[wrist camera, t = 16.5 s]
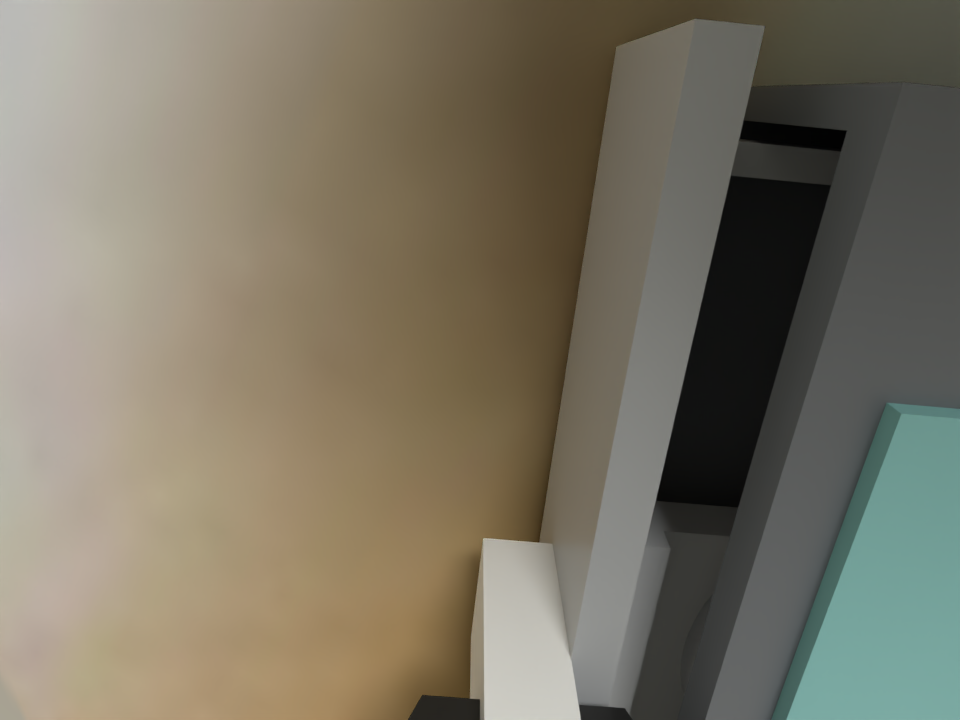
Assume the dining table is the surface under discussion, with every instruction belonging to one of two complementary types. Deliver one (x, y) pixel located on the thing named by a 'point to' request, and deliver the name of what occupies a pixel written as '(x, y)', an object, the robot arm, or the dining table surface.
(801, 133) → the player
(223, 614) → the dining table surface
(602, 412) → the tray
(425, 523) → the dining table surface
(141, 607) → the dining table surface
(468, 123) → the dining table surface
